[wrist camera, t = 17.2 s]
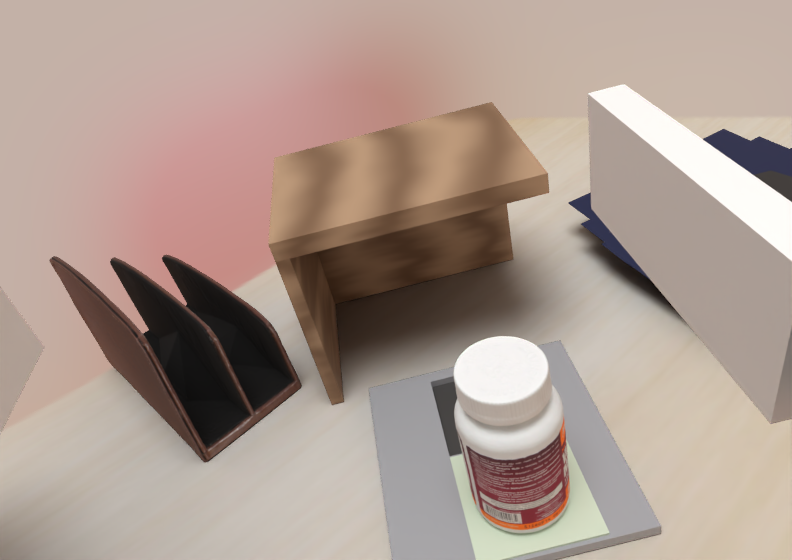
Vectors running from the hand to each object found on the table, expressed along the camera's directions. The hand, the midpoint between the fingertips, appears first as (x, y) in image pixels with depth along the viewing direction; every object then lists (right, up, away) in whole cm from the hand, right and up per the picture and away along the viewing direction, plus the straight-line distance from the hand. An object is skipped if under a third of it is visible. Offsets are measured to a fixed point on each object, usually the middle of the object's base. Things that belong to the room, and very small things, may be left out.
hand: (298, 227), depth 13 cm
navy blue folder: (+35, +1, +41) cm, 54 cm away
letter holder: (-16, -10, +44) cm, 48 cm away
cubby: (+5, -5, +43) cm, 44 cm away
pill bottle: (+10, -15, +27) cm, 32 cm away
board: (+9, -13, +31) cm, 34 cm away
